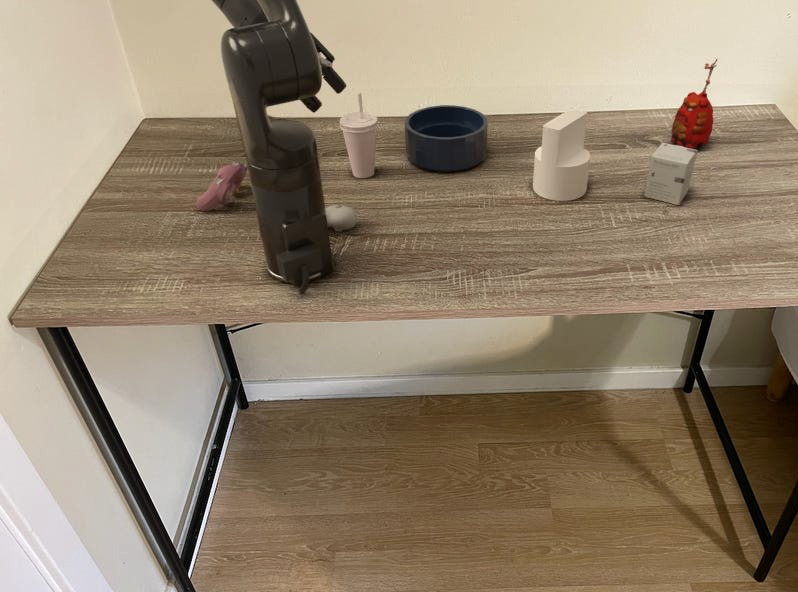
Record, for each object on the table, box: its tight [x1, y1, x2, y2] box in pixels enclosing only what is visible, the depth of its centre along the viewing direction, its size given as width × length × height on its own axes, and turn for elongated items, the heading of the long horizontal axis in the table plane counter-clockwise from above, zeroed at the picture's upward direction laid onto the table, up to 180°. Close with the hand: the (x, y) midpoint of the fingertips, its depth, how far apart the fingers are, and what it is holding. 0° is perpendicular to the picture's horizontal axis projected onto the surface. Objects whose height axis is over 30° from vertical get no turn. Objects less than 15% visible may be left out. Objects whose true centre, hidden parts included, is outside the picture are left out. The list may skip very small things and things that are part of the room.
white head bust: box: [325, 204, 358, 233], centre depth 117 cm, size 4×8×5 cm
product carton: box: [643, 142, 698, 206], centre depth 124 cm, size 6×6×7 cm
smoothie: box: [339, 92, 379, 179], centre depth 128 cm, size 6×6×14 cm
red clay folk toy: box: [670, 58, 718, 150], centre depth 136 cm, size 8×7×15 cm
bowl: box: [404, 104, 488, 173], centre depth 135 cm, size 14×14×6 cm
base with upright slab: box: [532, 107, 591, 202], centre depth 124 cm, size 9×9×12 cm
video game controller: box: [195, 160, 248, 212], centre depth 123 cm, size 10×5×7 cm, turn 168°
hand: (330, 99), depth 125 cm, fingers open, 8 cm apart
